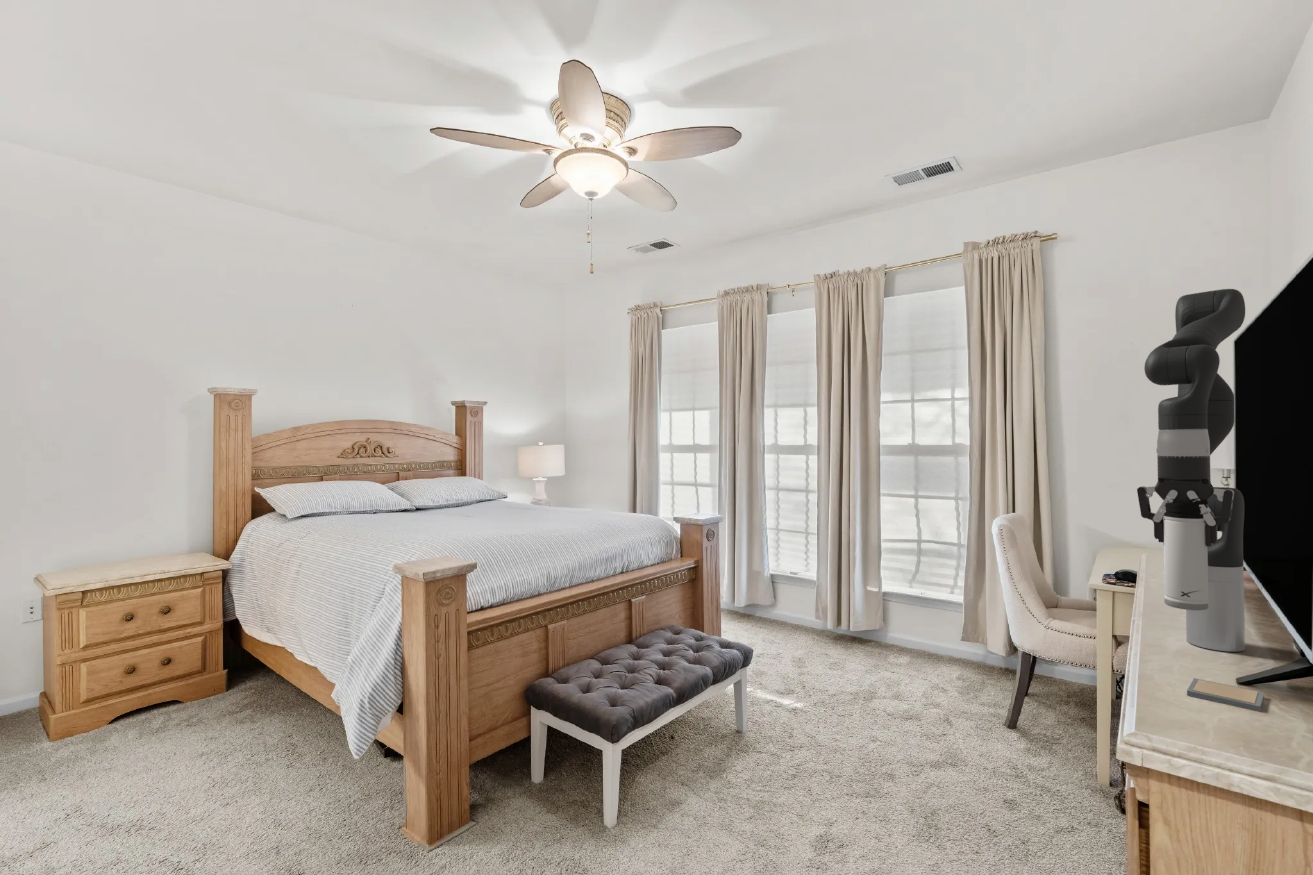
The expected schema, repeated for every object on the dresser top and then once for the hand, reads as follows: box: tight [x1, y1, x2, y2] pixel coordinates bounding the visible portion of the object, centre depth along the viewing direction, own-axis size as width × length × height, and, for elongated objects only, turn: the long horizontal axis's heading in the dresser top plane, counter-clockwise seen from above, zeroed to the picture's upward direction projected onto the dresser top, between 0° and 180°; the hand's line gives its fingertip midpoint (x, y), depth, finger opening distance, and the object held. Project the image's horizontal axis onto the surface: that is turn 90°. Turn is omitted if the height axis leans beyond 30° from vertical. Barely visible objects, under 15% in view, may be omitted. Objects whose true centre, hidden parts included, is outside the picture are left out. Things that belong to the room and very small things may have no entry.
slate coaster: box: [1186, 678, 1265, 712], centre depth 106 cm, size 8×9×1 cm
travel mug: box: [1162, 500, 1208, 611], centre depth 116 cm, size 6×7×20 cm
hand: (1184, 543), depth 117 cm, fingers closed on travel mug, 6 cm apart
